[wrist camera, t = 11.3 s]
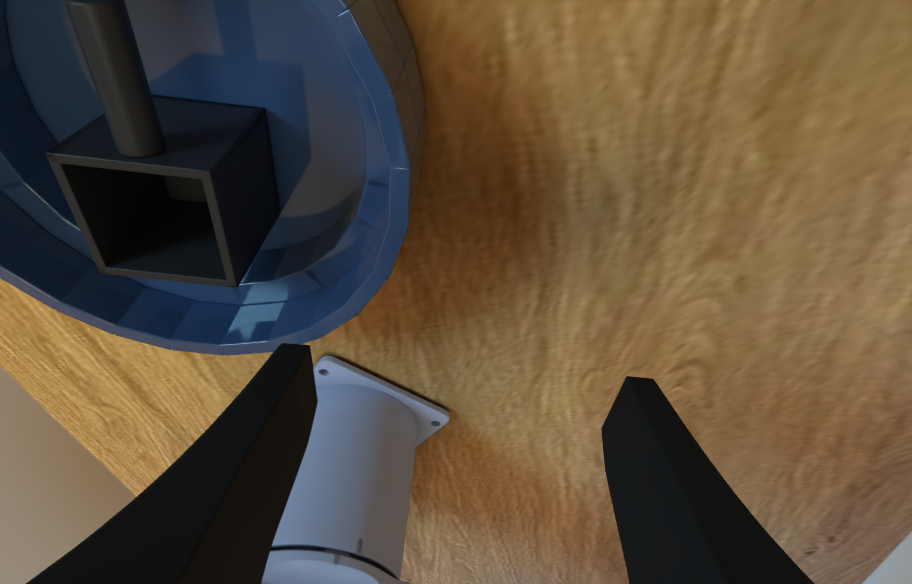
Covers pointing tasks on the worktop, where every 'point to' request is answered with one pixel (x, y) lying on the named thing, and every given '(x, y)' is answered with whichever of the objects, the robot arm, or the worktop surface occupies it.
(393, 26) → the bowl
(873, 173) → the worktop surface
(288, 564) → the robot arm
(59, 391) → the worktop surface
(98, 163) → the scoop
